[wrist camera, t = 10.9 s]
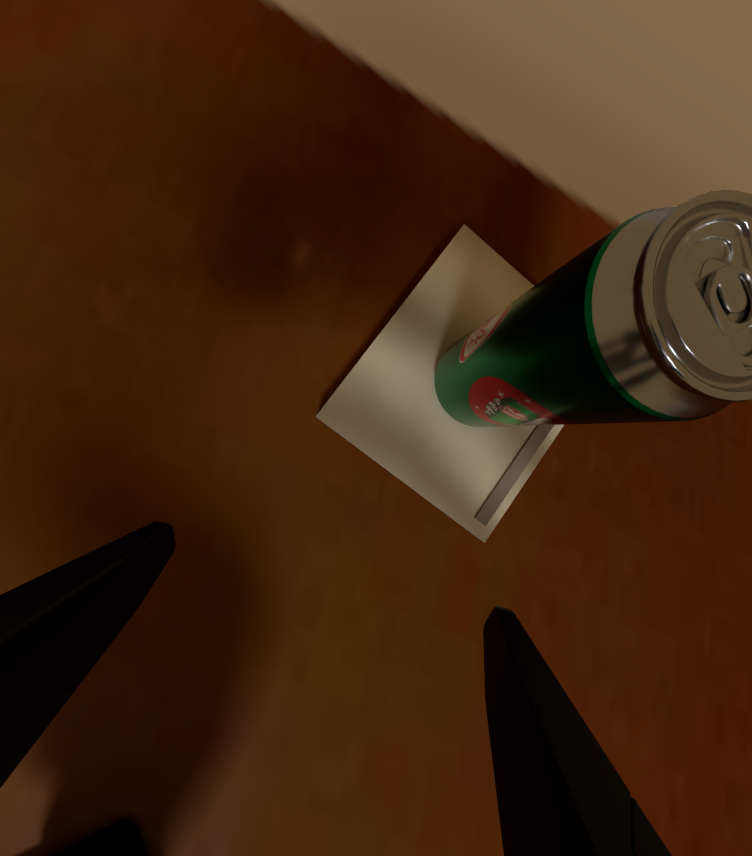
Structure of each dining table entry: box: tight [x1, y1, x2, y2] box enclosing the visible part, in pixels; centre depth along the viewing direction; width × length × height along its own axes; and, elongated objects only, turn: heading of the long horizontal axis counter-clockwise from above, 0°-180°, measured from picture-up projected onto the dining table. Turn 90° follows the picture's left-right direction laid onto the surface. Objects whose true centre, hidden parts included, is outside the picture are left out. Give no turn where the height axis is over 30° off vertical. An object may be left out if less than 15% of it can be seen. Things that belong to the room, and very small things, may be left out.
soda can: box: [434, 190, 752, 427], centre depth 12 cm, size 5×5×12 cm
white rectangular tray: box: [316, 224, 564, 543], centre depth 19 cm, size 14×12×1 cm
